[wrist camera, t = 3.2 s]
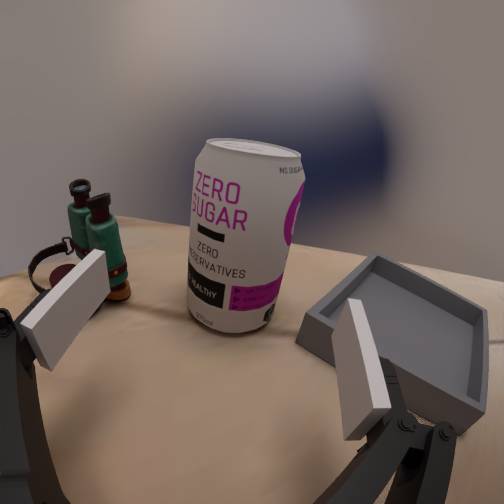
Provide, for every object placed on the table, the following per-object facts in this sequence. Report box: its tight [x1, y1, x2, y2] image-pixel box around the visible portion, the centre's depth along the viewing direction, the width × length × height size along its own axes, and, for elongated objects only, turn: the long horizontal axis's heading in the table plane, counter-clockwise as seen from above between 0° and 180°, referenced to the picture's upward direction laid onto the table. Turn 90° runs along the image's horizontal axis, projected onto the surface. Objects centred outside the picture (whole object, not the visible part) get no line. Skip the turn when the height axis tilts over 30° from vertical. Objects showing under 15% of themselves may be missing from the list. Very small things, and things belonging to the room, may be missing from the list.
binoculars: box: [28, 179, 131, 300], centre depth 22 cm, size 9×10×10 cm
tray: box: [295, 251, 489, 436], centre depth 25 cm, size 18×18×4 cm
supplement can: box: [187, 138, 305, 333], centre depth 24 cm, size 8×8×15 cm
